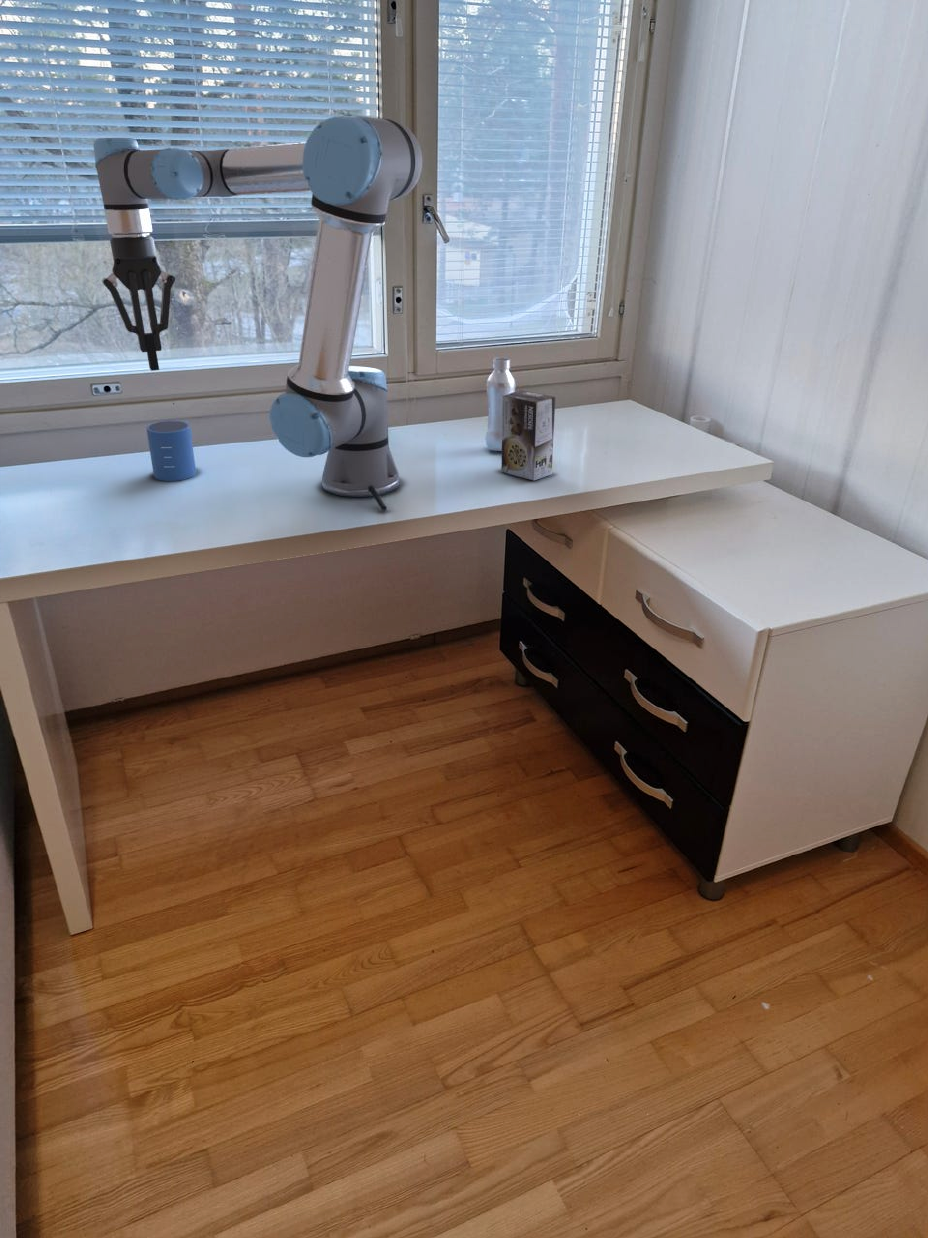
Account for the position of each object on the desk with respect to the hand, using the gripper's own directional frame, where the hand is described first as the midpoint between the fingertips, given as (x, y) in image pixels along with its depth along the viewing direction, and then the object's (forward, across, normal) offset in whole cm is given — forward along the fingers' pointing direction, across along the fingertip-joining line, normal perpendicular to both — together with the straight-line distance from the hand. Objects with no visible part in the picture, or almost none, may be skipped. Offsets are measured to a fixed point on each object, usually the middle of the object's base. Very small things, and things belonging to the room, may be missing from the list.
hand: (154, 368), depth 167 cm
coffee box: (+23, -67, +26) cm, 76 cm away
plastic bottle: (+23, -70, +10) cm, 74 cm away
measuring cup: (+16, +3, -3) cm, 17 cm away
